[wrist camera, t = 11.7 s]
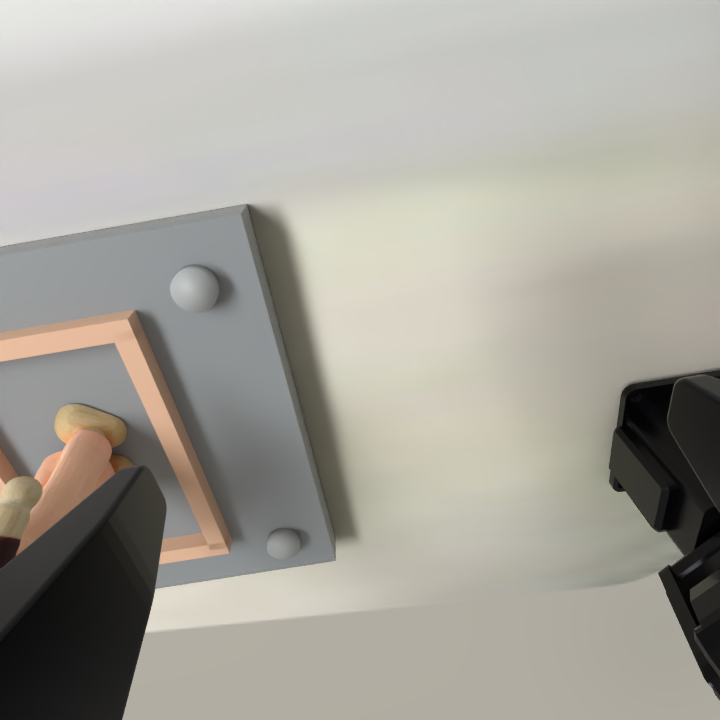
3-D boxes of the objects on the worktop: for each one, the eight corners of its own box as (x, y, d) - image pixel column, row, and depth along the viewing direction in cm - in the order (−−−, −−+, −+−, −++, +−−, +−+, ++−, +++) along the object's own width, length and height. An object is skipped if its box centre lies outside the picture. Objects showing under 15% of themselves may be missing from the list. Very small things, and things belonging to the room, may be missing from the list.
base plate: (247, 204, 18) (237, 220, 16) (335, 537, 27) (336, 574, 25) (-230, 286, 18) (-297, 312, 16) (14, 587, 27) (-10, 627, 25)
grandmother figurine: (16, 386, 19) (-386, 793, 8) (114, 377, 19) (-157, 769, 8) (84, 523, 23) (-130, 924, 12) (167, 515, 23) (26, 906, 12)
